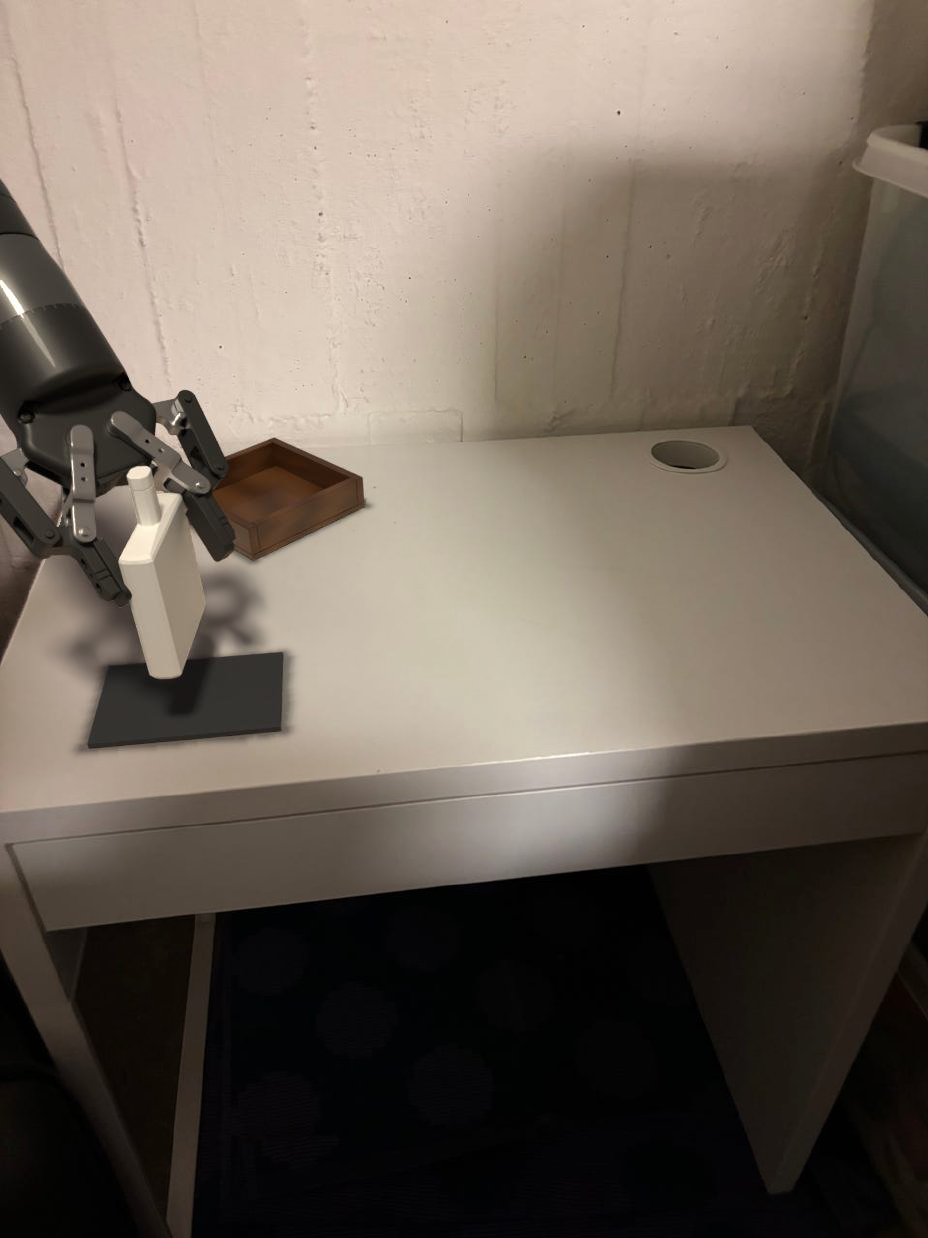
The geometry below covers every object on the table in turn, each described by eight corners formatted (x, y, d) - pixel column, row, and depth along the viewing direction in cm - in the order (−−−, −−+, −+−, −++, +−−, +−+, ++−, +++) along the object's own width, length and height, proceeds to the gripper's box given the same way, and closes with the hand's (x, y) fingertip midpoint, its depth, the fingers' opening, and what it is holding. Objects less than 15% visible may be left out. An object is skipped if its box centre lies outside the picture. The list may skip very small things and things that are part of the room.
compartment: (253, 560, 77) (248, 529, 75) (167, 510, 84) (161, 481, 82) (364, 506, 84) (363, 476, 83) (277, 465, 91) (274, 436, 90)
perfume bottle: (178, 604, 63) (139, 441, 56) (207, 603, 63) (172, 440, 56) (148, 680, 56) (99, 507, 49) (181, 679, 56) (137, 506, 49)
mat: (88, 748, 58) (86, 743, 58) (110, 670, 65) (108, 665, 65) (280, 731, 60) (280, 726, 60) (283, 656, 66) (282, 651, 66)
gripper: (-93, 333, 48) (81, 610, 48) (152, 274, 56) (297, 510, 57) (-99, 402, 54) (56, 649, 54) (123, 340, 62) (254, 553, 63)
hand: (179, 577), depth 55 cm, fingers closed on perfume bottle, 6 cm apart
